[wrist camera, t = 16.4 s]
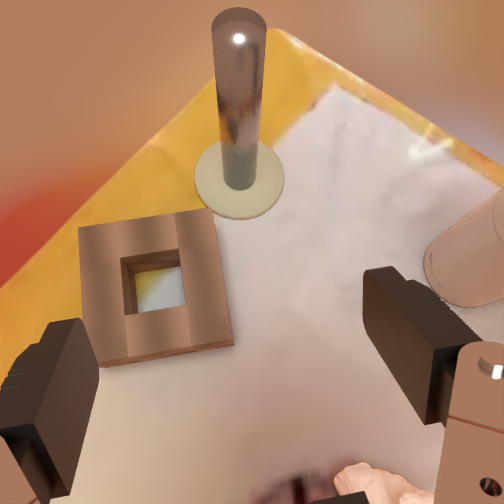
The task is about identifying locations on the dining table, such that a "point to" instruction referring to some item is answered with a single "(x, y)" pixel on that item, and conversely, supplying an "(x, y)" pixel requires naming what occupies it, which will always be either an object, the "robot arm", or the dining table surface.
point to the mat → (235, 201)
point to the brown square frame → (124, 290)
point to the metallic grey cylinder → (239, 91)
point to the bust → (379, 486)
